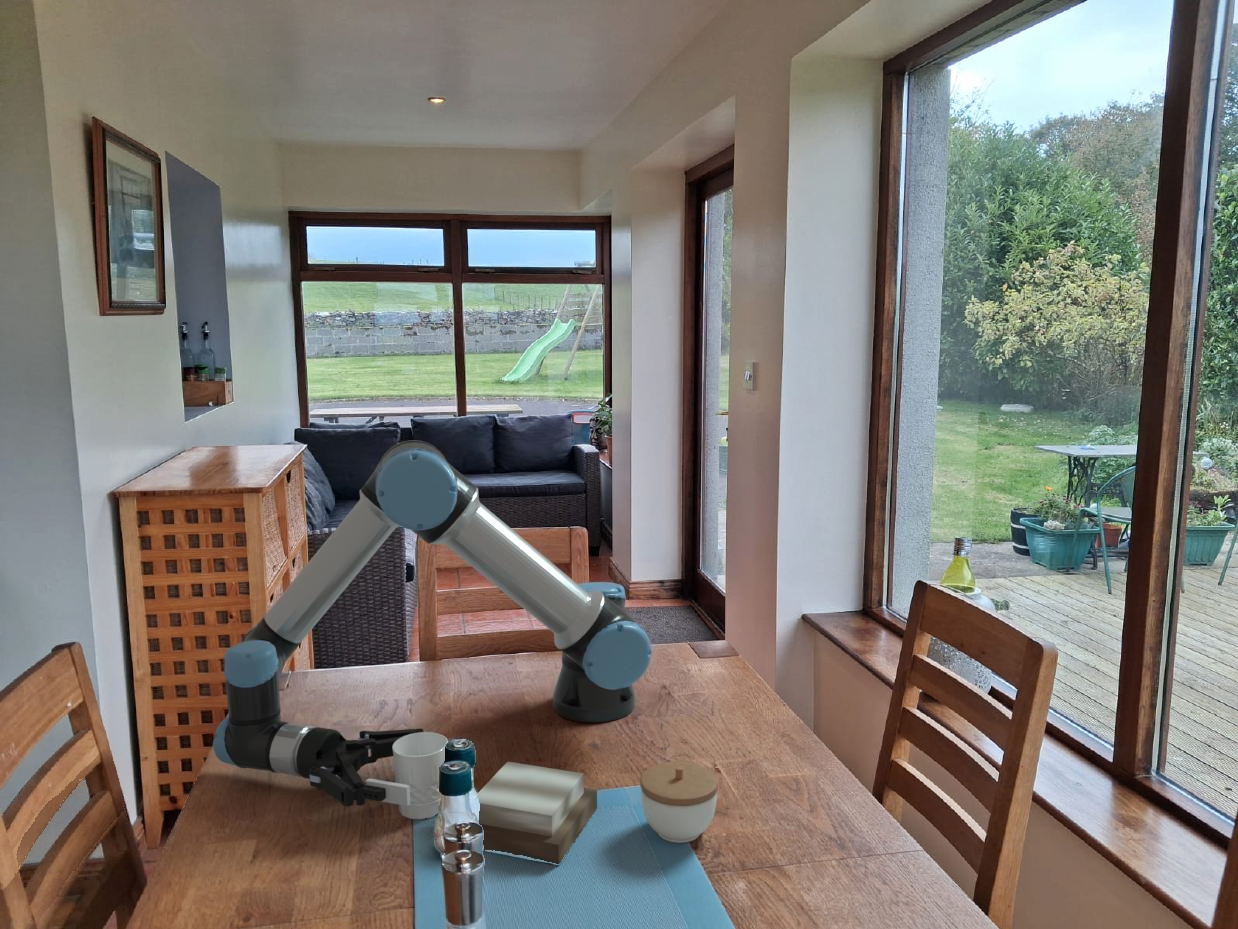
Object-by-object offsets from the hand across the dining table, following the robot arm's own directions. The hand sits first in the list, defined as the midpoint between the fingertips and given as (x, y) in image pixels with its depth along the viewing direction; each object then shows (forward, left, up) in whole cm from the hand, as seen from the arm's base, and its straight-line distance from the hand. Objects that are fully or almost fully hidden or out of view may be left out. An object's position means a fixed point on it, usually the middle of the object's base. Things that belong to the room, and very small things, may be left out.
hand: (433, 772), depth 133 cm
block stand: (-13, +7, -6) cm, 16 cm away
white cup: (+2, -1, -6) cm, 6 cm away
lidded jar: (-33, +13, -6) cm, 36 cm away
